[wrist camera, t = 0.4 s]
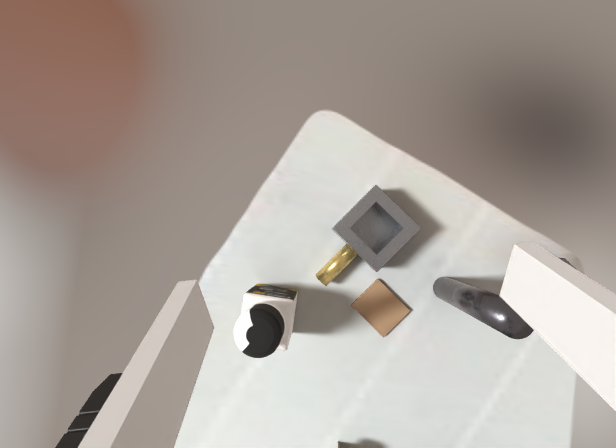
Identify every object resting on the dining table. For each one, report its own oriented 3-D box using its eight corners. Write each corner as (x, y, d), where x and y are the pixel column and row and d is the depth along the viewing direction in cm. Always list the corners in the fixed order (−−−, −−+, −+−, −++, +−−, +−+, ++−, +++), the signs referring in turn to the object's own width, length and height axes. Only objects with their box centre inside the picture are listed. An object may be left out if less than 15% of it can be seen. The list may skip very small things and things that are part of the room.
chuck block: (410, 228, 43) (421, 228, 38) (340, 297, 44) (342, 306, 39) (370, 190, 44) (376, 184, 39) (301, 258, 44) (299, 262, 39)
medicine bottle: (298, 289, 44) (289, 310, 32) (292, 332, 44) (280, 370, 32) (256, 283, 45) (231, 301, 33) (250, 325, 44) (223, 360, 32)
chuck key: (445, 304, 43) (517, 346, 27) (428, 287, 43) (490, 320, 27) (488, 260, 42) (588, 277, 26) (471, 244, 43) (560, 251, 27)
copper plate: (409, 309, 43) (410, 311, 42) (382, 336, 43) (383, 337, 42) (377, 278, 43) (378, 279, 43) (351, 304, 43) (351, 305, 43)
